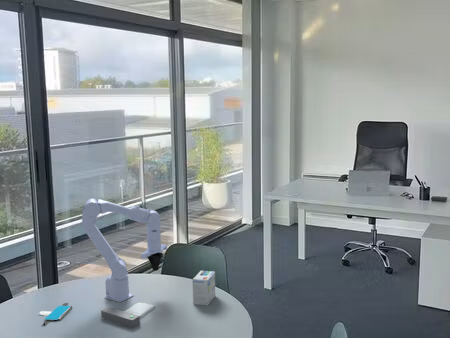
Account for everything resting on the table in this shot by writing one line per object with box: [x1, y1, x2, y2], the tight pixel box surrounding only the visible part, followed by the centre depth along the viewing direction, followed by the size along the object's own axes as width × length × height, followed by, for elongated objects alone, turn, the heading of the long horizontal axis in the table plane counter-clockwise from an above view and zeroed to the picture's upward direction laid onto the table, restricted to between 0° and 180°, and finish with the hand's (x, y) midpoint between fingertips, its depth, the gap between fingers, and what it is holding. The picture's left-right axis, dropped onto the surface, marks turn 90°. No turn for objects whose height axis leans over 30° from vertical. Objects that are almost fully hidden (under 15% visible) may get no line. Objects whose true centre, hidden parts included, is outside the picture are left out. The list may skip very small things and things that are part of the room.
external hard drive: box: [124, 301, 156, 319], centre depth 184 cm, size 2×8×12 cm
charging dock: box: [100, 306, 141, 329], centre depth 177 cm, size 16×4×3 cm, turn 57°
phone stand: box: [39, 302, 73, 326], centre depth 184 cm, size 20×12×2 cm, turn 175°
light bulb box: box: [192, 270, 216, 306], centre depth 194 cm, size 11×7×11 cm, turn 164°
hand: (155, 270), depth 201 cm, fingers closed
